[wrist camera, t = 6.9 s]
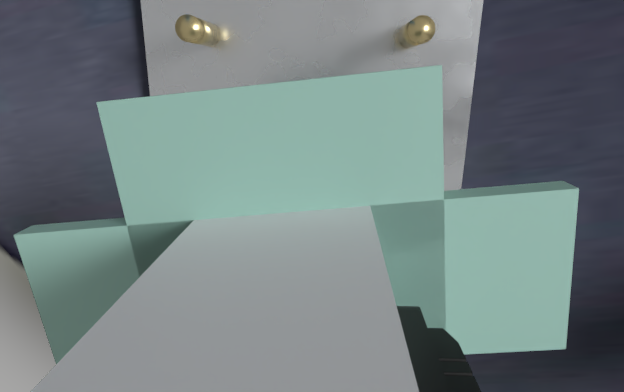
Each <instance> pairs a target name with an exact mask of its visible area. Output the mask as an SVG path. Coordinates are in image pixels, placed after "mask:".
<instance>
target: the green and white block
mask: <svg viewBox="0 0 624 392" xmlns="http://www.w3.org/2000/svg"><path fill="white" fill-rule="evenodd" d="M97 107H98V111H99V115H100V119H101V123H102V127H103V131H104V135H105V139H106V143H107V147H108V151H109V155H110V159H111V163H112V168H113V172H114V176H115V180H116V184H117V188H118V192H119V196H120V200H121V204H122V208H123V212H124V216H125V218H114V219H102V220H90V221H78V222H66V223H54V224H42V225H32V226H30V227H28V228H26V229H24V230H22V231H20V232H18V233H16V234H14V238H15V241H16V244H17V247H18V250H19V253H20V256H21V259H22V262H23V265H24V268H25V271H26V274H27V277H28V280H29V283H30V286H31V289H32V292H33V295H34V298H35V301H36V304H37V307H38V310H39V313H40V317H41V320H42V323H43V326H44V329H45V331H46V335H47V338H48V341H49V343H50V347H51V350H52V353H53V356H54V359H55V362H56V365H55V366H54V368H53V369H52V370H51V371H50V372H49V373H48V374H47V375H46V376H45V377H44V378H43V379H42V380H41V381H40V382H39V383H38V384H37V386H35V387H34V389H33V390H32V391H31V392H419V389H418V386H417V382H416V378H415V374H414V370H413V367H412V363H411V359H410V355H409V351H408V348H407V344H406V340H405V336H404V332H403V329H402V325H401V321H400V317H399V313H398V310H397V306H419V307H420V309H421V311H422V314H423V317H424V320H425V322H426V325H427V328H443V329H444V330H445V331H447V332H448V333H449V334H450V335H451V336H452V337H453V338H454V339H455V340H456V341H457V342H458V343H459V345H460V347H461V349H462V351H463V354H483V353H502V352H521V351H540V350H559V349H566V342H567V330H568V317H569V305H570V293H571V280H572V268H573V256H574V243H575V231H576V218H577V206H578V194H579V188H577V187H575V186H573V185H571V184H568V183H566V182H564V181H556V182H544V183H532V184H520V185H508V186H496V187H484V188H472V189H460V190H448V191H444V156H443V88H442V65H435V66H426V67H416V68H407V69H398V70H389V71H379V72H370V73H361V74H352V75H342V76H333V77H324V78H314V79H305V80H296V81H287V82H277V83H268V84H259V85H250V86H240V87H231V88H222V89H213V90H203V91H194V92H185V93H176V94H166V95H157V96H148V97H138V98H129V99H120V100H111V101H103V102H97Z"/></svg>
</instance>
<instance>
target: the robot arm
mask: <svg viewBox="0 0 624 392" xmlns="http://www.w3.org/2000/svg"><path fill="white" fill-rule="evenodd" d="M397 310H398V313H399V317H400V321H401V325H402V329H403V332H404V336H405V340H406V344H407V348H408V351H409V355H410V359H411V363H412V367H413V370H414V374H415V378H416V382H417V386H418V389H419V392H481V391H480V388H479V386H478V384H477V382H476V380H475V378H474V376H472V371H471V369H470V367H469V364H468V362H466V358H465V356H464V354H463V351H462V349H461V347H460V345H459V343H458V342H457V341H456V340H455V339H454V338H453V337H452V336H451V335H450V334H449V333H448V332H447V331H445V330H444V329H443V328H427V325H426V322H425V320H424V317H423V314H422V311H421V309H420V307H419V306H397Z"/></svg>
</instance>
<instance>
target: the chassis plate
mask: <svg viewBox="0 0 624 392" xmlns="http://www.w3.org/2000/svg"><path fill="white" fill-rule="evenodd" d="M140 1H141V11H142V21H143V31H144V41H145V51H146V61H147V71H148V81H149V91H150V96H157V95H166V94H176V93H185V92H194V91H203V90H213V89H222V88H231V87H240V86H250V85H259V84H268V83H277V82H287V81H296V80H305V79H314V78H324V77H333V76H342V75H352V74H361V73H370V72H379V71H389V70H398V69H407V68H416V67H426V66H435V65H442V88H443V156H444V191H448V190H460V189H461V185H462V177H463V168H464V160H465V151H466V143H467V134H468V126H469V117H470V109H471V100H472V92H473V83H474V75H475V66H476V58H477V49H478V41H479V32H480V24H481V15H482V7H483V0H140Z"/></svg>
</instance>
